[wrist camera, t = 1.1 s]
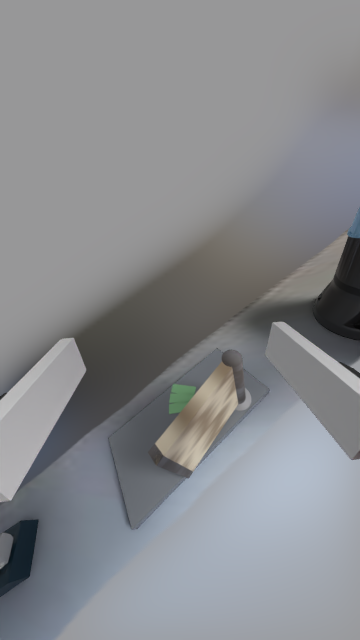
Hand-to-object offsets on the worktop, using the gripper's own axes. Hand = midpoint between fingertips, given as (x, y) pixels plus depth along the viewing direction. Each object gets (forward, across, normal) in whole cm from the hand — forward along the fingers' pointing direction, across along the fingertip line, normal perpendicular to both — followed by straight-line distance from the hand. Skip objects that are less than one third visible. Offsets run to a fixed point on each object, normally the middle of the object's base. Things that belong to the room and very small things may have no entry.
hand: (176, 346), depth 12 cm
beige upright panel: (+6, +6, -21) cm, 23 cm away
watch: (-1, -25, -34) cm, 43 cm away
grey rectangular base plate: (+10, +2, -24) cm, 26 cm away
